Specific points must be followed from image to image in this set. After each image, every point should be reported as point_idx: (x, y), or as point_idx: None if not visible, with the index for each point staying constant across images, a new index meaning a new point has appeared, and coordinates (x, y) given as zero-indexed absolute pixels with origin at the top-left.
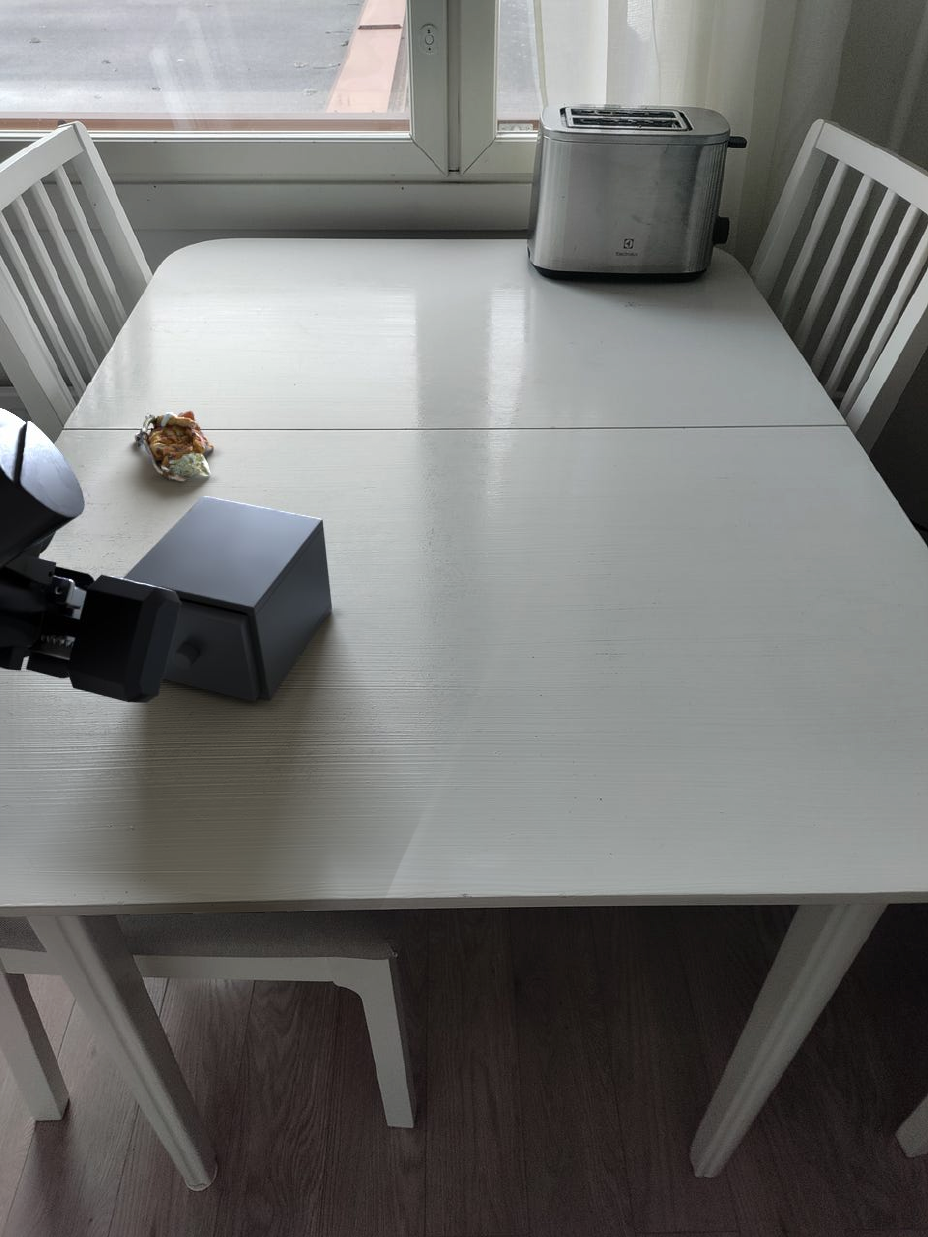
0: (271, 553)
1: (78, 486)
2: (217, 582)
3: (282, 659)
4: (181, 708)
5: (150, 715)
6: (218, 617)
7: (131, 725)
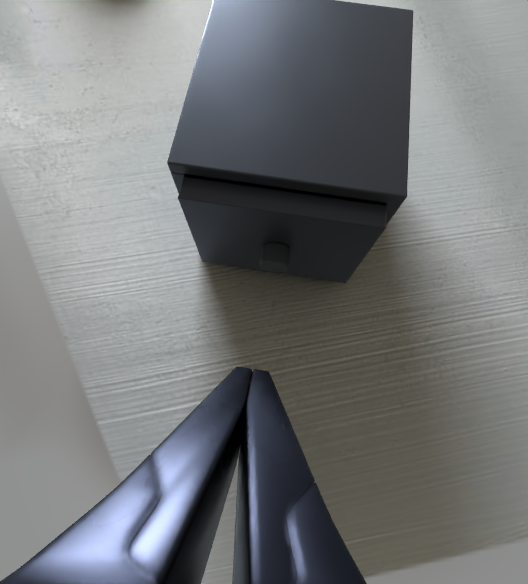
0: (375, 82)
1: None
2: (323, 151)
3: None
4: (259, 298)
5: (228, 313)
6: (345, 216)
7: (212, 332)
